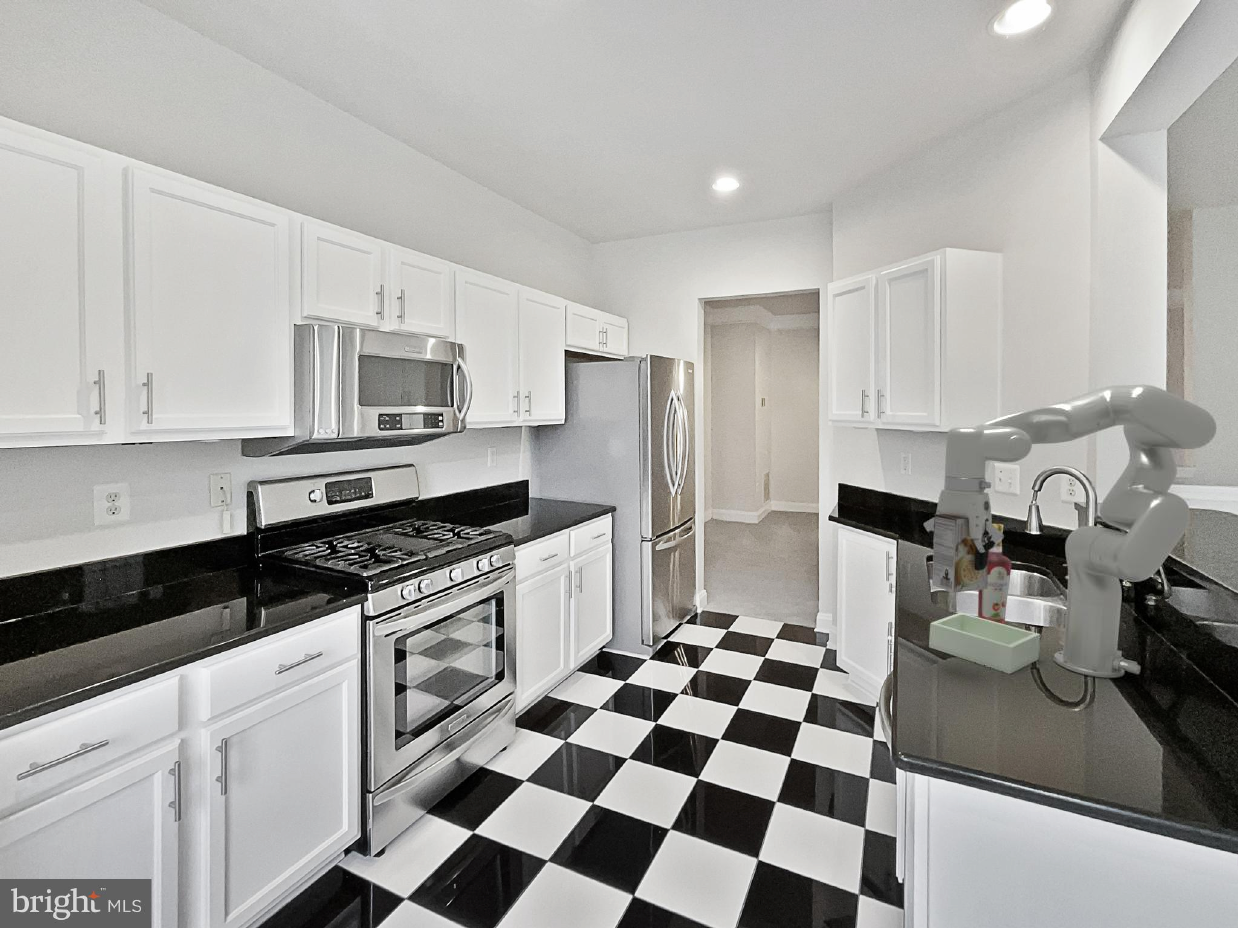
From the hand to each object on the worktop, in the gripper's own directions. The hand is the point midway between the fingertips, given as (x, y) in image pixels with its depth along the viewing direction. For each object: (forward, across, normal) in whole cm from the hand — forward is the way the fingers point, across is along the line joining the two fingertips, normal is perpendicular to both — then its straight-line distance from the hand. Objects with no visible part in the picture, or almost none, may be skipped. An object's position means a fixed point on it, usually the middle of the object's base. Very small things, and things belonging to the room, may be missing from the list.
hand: (960, 564), depth 135 cm
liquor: (+24, +7, -31) cm, 40 cm away
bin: (+24, +1, -15) cm, 28 cm away
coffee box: (+5, 0, 0) cm, 5 cm away
